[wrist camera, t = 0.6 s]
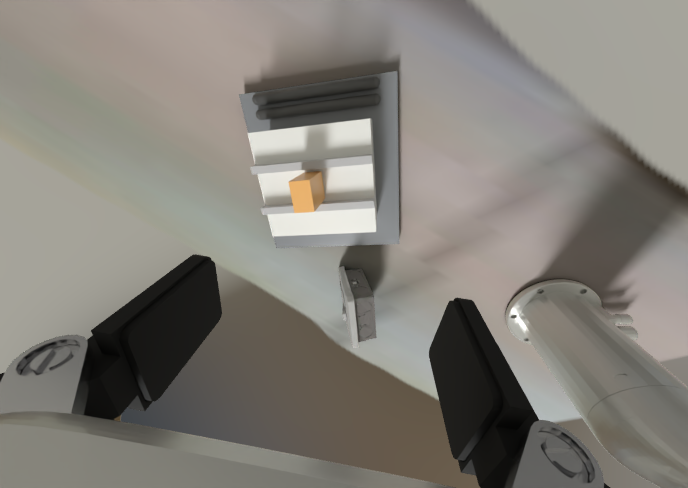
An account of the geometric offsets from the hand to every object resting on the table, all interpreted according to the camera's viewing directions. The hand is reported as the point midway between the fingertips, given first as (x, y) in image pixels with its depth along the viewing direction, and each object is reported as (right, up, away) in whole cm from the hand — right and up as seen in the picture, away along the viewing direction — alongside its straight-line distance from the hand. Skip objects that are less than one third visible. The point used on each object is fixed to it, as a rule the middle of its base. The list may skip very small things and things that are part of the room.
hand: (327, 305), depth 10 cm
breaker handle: (-3, +9, +18) cm, 20 cm away
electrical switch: (+3, -5, +32) cm, 33 cm away
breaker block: (-2, +12, +24) cm, 27 cm away
